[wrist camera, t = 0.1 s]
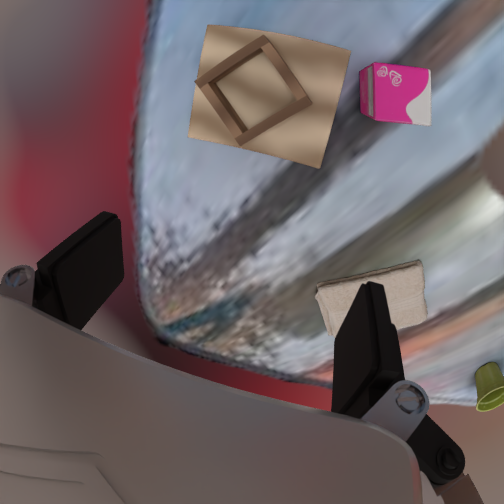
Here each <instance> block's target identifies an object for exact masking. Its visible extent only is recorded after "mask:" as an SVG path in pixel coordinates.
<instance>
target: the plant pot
mask: <svg viewBox="0 0 504 504" xmlns="http://www.w3.org/2000/svg"><path fill="white" fill-rule="evenodd" d="M475 379H476V387H477V396H478V398H477V405H476V409H477V410H478V411H481V412H484V411H489V410H492V409H494V408H496V407H498V406H499V405H501V404H503V403H504V376H503V374H502V373H501V371H500V369H499V367H498V365H497V364H496V363H495V362H490V363H487V364H486V365H485V366H482V367H480V368H479V369H478V370H477V372H476V374H475Z"/></svg>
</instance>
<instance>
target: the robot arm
mask: <svg viewBox="0 0 504 504" xmlns="http://www.w3.org/2000/svg"><path fill="white" fill-rule="evenodd" d="M37 267H38V270H36V271H34V269H33V268H32V267H30V266H28V265H19V266H15V267H13V268H11V269H9V270H8V271H7V272H6V273H5V274H4V275H3V277H2V281H1V284H0V504H484V503H483V501H482V499H481V497H480V495H479V493H478V491H477V489H476V487H475V485H474V483H473V482H472V480H471V478H470V476H469V474H467V475H464V473H463V470H464V467H465V457H464V454H463V452H462V450H461V448H460V447H459V446H458V445H457V444H456V443H455V442H454V441H453V440H452V439H451V438H450V437H449V436H448V435H447V434H446V433H445V432H444V431H443V430H442V429H441V428H440V427H439V426H438V425H437V424H436V423H435V422H434V421H433V420H432V419H431V418H430V417H429V416H428V415H427V414H426V413H427V412H428V409H429V399H428V396H427V394H426V392H425V391H424V390H423V388H422V387H421V386H419V385H418V384H416V383H415V382H412V381H408V380H405V377H404V370H403V364H402V358H401V352H400V346H399V341H398V335H397V330H396V326H395V325H394V324H393V323H391V318H390V312H389V308H388V303H387V298H386V293H385V289H384V285H383V284H379V283H376V282H372V281H368V282H367V283H366V284H364V283H362V284H361V286H360V288H359V290H358V292H357V294H356V296H355V298H354V300H353V303H352V305H351V307H350V309H349V311H348V313H347V315H346V317H345V319H344V321H343V323H342V325H341V327H340V329H339V331H338V333H337V335H336V338H335V342H334V370H333V391H332V408H331V412H330V411H325V410H320V409H316V408H311V407H307V406H302V405H298V404H293V403H289V402H285V401H281V400H277V399H273V398H269V397H265V396H261V395H257V394H253V393H249V392H246V391H243V390H239V389H235V388H232V387H229V386H225V385H221V384H219V383H215V382H212V381H209V380H206V379H203V378H200V377H197V376H194V375H190V374H188V373H185V372H182V371H179V370H175V369H173V368H170V367H168V366H165V365H162V364H159V363H157V362H154V361H151V360H149V359H146V358H143V357H141V356H139V355H136V354H133V353H131V352H129V351H126V350H124V349H121V348H119V347H117V346H114V345H112V344H110V343H107V342H105V341H103V340H100V339H98V338H96V337H93V336H91V335H89V334H87V333H85V332H83V331H81V330H82V328H83V327H84V326H85V325H86V324H87V322H88V321H89V320H90V319H91V317H92V316H93V315H94V314H95V313H96V311H97V310H98V309H99V308H100V307H101V305H102V304H103V303H104V302H105V301H106V299H107V298H108V297H109V296H110V295H111V294H112V292H113V291H114V290H115V289H116V288H117V287H118V286H119V284H120V283H121V282H122V280H123V278H124V265H123V252H122V238H121V222H120V219H118V216H117V215H116V214H113V213H109V212H106V211H103V212H101V213H100V214H99V215H97V216H96V217H94V218H93V219H92V220H90V221H89V222H88V223H86V224H85V225H83V226H82V227H81V228H80V229H78V230H77V231H76V232H74V233H73V234H72V235H70V236H69V237H68V238H67V239H65V240H64V241H63V242H61V243H60V244H59V245H58V246H57V247H55V248H54V249H53V250H52V251H50V252H49V253H48V254H47V255H46V256H44V257H43V258H42V259H41V260H40V261H38V262H37Z"/></svg>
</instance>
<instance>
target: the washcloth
mask: <svg viewBox="0 0 504 504" xmlns="http://www.w3.org/2000/svg"><path fill="white" fill-rule="evenodd" d="M368 281H372V282H376V283H379V284H383V285H384V289H385V293H386V298H387V303H388V308H389V312H390V318H391V323H393V324H394V325H395V326H396V330H397V329H401V328H405V327H409V326H413V325H417V324H420V323H421V322H423V321H425V320H426V319H427V314H428V313H427V305H426V302H425V299H424V288H425V281H424V274H423V265H422V263H421V262H420V261H419V260H418V261H414V262H409V263H405V264H402V265H401V264H400V265H397V266H393V267H391V268H389V267H388V268H385V269H379V270H376V271H375V270H374V271H371V272H368V273H364V274H362V275H356V276H352V277H348V278H342V279H336V280H331V281H326V282H320V283H317V289H318V292H317V294H316V295H315V298H316V299H317V301H318V303H319V306H320V309H321V312H322V315H323V319H324V322H325V325H326V328H327V331H328V335H334V337H335V338H336V335H337V333H338V331H339V329H340V327H341V325H342V323H343V321H344V319H345V317H346V315H347V313H348V311H349V309H350V307H351V305H352V303H353V300H354V298H355V296H356V294H357V292H358V290H359V288H360V286H361V284H362V283H364V284H366V283H367V282H368Z"/></svg>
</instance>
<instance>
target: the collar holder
mask: <svg viewBox="0 0 504 504" xmlns="http://www.w3.org/2000/svg"><path fill="white" fill-rule="evenodd" d="M350 53H351V51H349V50H346V49H343V48H339V47H336V46H332V45H328V44H325V43H321V42H317V41H313V40H308V39H304V38H299V37H295V36H290V35H285V34H279V33H274V32H268V31H261V30H255V29H247V28H239V27H230V26H220V25H207V29H206V34H205V39H204V44H203V49H202V54H201V59H200V64H199V70H198V75H197V80H196V81H194V82H195V83H196V87H195V93H194V99H193V105H192V112H191V118H190V125H189V132H188V137H190V138H195V139H200V140H205V141H210V142H215V143H220V144H224V145H229V146H234V147H238V148H242V149H247V150H251V151H255V152H259V153H263V154H267V155H271V156H275V157H279V158H283V159H287V160H290V161H294V162H298V163H301V164H305V165H309V166H312V167H315V168H319V169H320V166H321V163H322V159H323V156H324V152H325V149H326V145H327V142H328V138H329V134H330V131H331V127H332V123H333V120H334V116H335V112H336V108H337V105H338V101H339V97H340V93H341V89H342V85H343V81H344V77H345V73H346V69H347V65H348V61H349V57H350Z"/></svg>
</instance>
